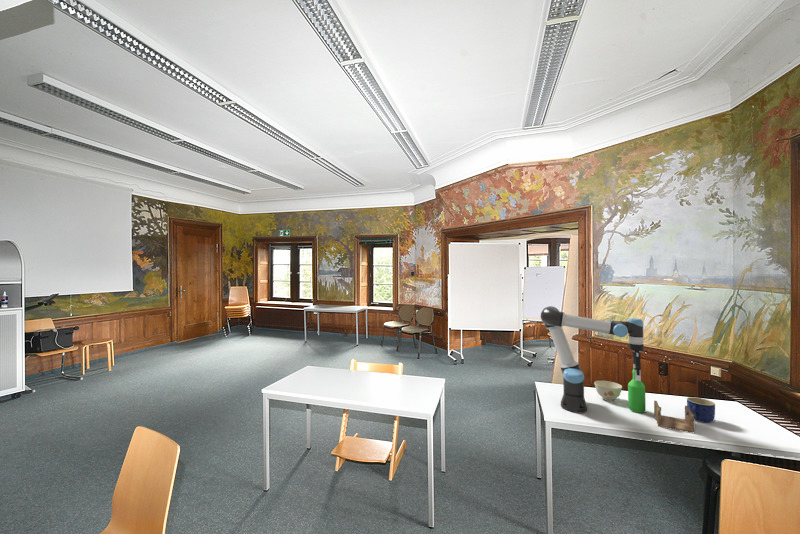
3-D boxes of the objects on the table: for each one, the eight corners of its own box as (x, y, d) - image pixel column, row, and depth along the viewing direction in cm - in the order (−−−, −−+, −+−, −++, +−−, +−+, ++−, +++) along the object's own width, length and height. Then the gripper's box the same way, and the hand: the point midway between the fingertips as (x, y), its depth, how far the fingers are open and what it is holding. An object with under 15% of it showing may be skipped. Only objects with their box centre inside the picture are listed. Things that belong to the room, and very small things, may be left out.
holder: (658, 426, 186) (658, 409, 186) (654, 415, 200) (654, 400, 200) (694, 433, 178) (694, 415, 178) (687, 421, 192) (687, 405, 192)
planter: (709, 426, 186) (709, 406, 187) (682, 417, 197) (682, 399, 198) (719, 421, 192) (719, 402, 192) (692, 413, 203) (692, 395, 203)
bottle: (648, 414, 202) (647, 372, 203) (632, 412, 204) (632, 372, 204) (641, 408, 211) (640, 368, 211) (625, 407, 213) (625, 368, 213)
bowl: (591, 398, 227) (591, 384, 227) (598, 393, 238) (598, 379, 238) (618, 405, 215) (618, 390, 215) (625, 399, 226) (625, 384, 226)
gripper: (645, 347, 196) (646, 384, 195) (641, 340, 217) (642, 373, 216) (630, 346, 199) (631, 382, 199) (627, 339, 221) (628, 371, 220)
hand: (637, 377), depth 208 cm, fingers open, 13 cm apart
